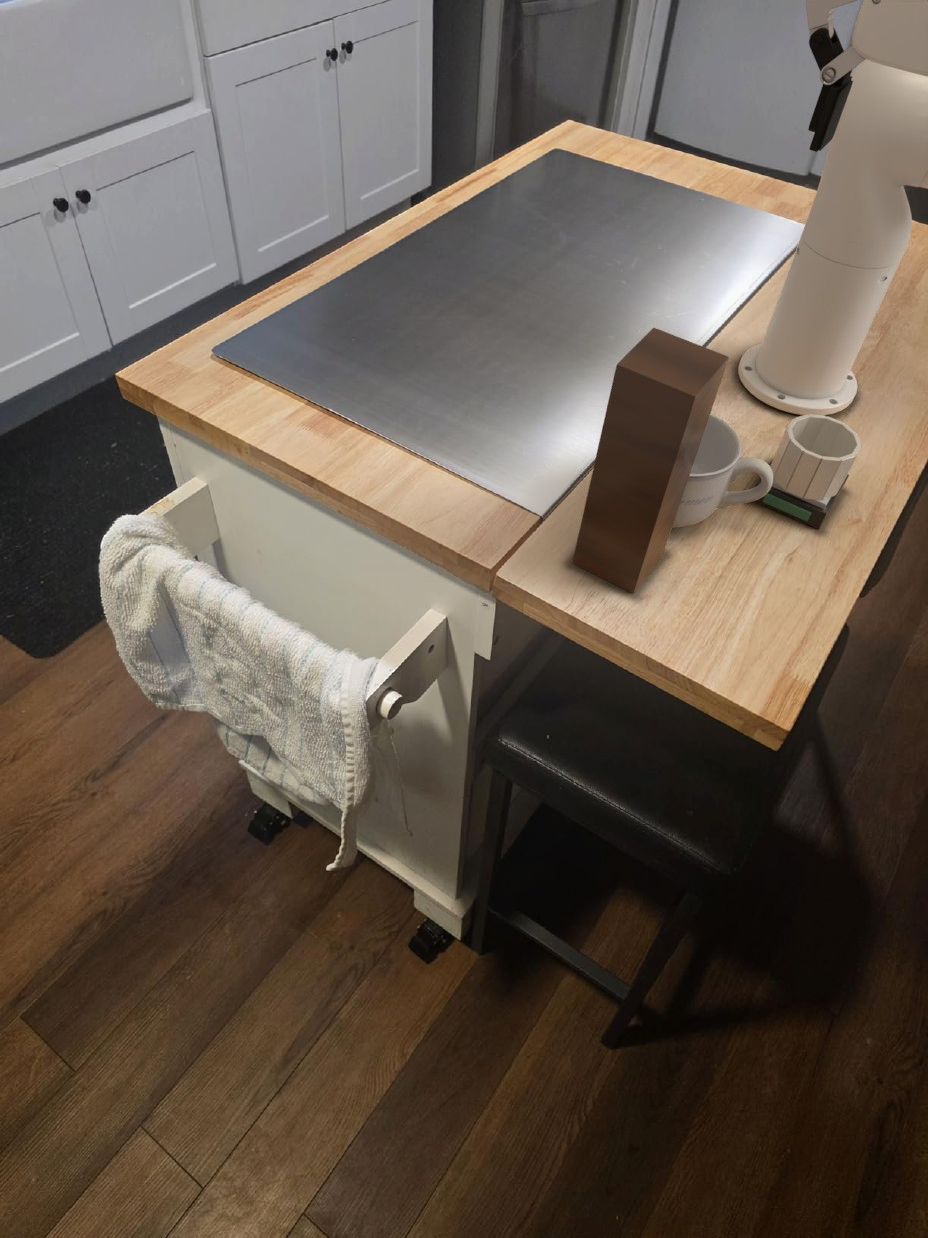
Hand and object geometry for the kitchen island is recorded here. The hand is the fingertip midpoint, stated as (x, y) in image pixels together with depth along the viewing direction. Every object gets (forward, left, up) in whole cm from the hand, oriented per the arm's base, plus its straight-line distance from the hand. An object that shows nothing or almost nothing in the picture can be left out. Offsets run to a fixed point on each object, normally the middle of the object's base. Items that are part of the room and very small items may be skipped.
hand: (887, 165), depth 60 cm
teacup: (+6, -5, -31) cm, 32 cm away
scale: (-3, +4, -30) cm, 31 cm away
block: (+15, -6, -30) cm, 34 cm away
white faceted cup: (-3, +4, -28) cm, 28 cm away
